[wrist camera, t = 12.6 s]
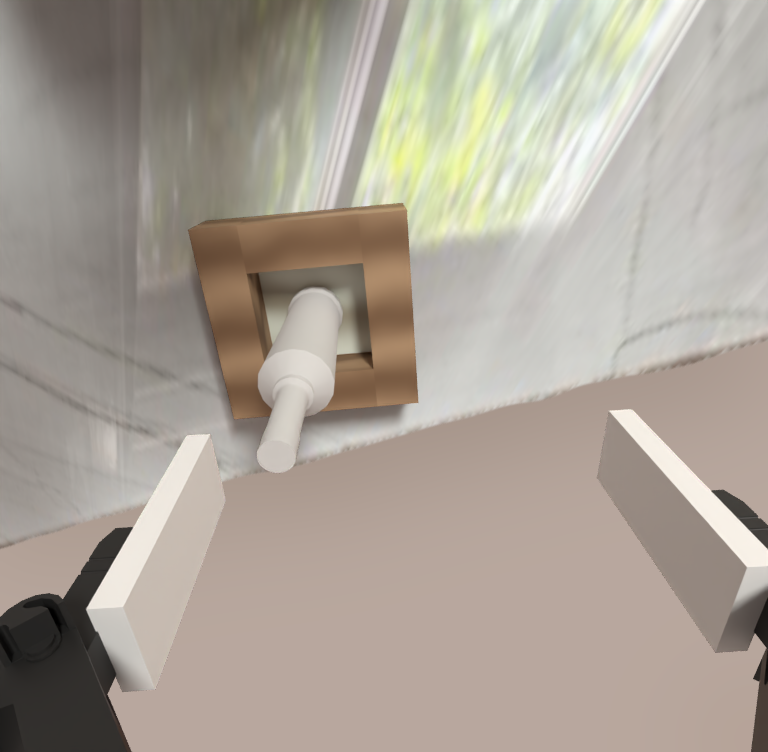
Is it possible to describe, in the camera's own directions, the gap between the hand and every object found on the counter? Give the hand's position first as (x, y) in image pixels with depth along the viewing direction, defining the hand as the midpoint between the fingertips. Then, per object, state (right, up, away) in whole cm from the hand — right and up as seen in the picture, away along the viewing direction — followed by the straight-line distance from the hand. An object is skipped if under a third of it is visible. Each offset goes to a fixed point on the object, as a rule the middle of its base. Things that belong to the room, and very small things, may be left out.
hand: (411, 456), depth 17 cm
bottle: (-7, +9, +32) cm, 34 cm away
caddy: (-7, +9, +33) cm, 35 cm away
